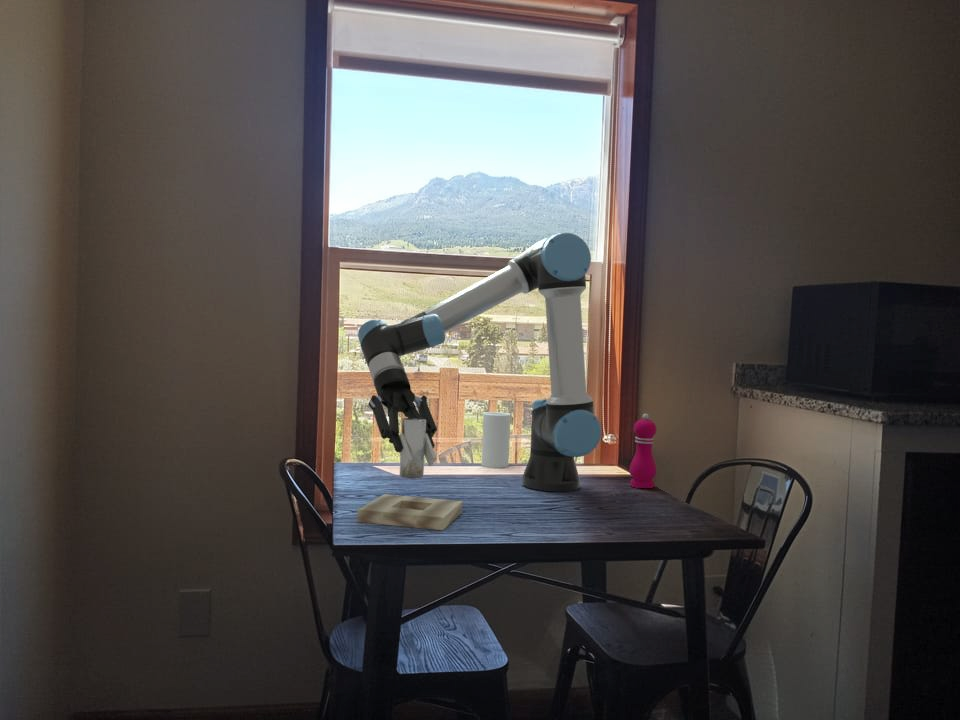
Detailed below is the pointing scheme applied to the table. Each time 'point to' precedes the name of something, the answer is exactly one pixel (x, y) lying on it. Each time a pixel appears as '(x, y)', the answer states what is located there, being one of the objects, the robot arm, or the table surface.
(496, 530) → the table surface
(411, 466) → the tall grey pillar
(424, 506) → the frame
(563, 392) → the robot arm
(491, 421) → the cup
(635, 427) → the pepper mill
